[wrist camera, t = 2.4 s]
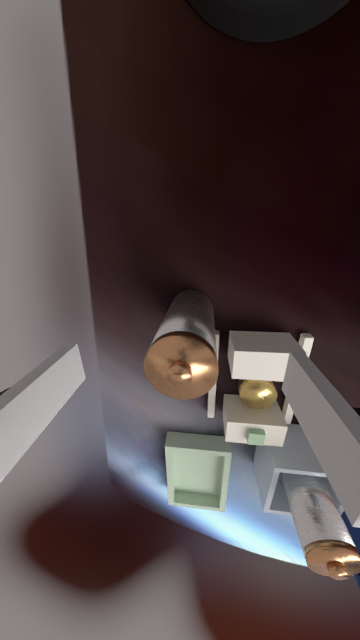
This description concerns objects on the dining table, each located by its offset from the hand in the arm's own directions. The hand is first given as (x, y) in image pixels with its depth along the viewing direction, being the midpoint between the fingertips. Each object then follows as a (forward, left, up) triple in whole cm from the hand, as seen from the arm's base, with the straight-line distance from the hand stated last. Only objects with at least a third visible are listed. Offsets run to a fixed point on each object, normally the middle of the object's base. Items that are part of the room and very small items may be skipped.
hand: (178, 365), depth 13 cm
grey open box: (+19, +13, -9) cm, 25 cm away
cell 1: (0, 0, -9) cm, 9 cm away
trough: (+25, +1, -9) cm, 26 cm away
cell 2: (+19, +13, -9) cm, 24 cm away
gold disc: (+8, +7, -8) cm, 13 cm away
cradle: (+8, +7, -9) cm, 14 cm away
